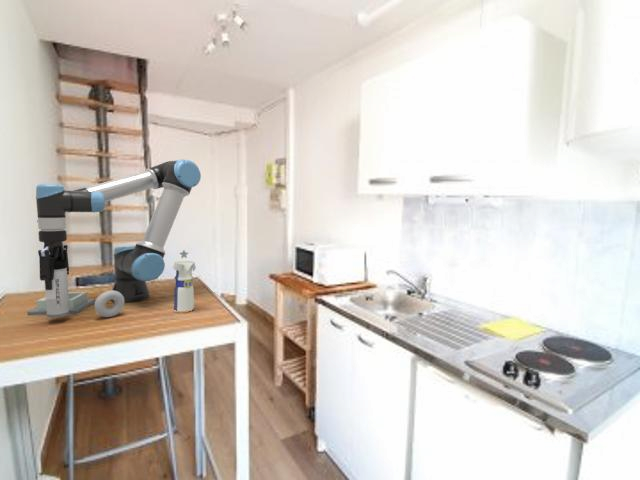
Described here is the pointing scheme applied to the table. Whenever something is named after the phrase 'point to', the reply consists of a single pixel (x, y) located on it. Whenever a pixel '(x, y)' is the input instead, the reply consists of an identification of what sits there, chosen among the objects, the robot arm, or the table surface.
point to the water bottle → (184, 284)
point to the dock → (76, 304)
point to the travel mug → (59, 292)
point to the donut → (104, 298)
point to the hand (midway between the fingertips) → (56, 295)
